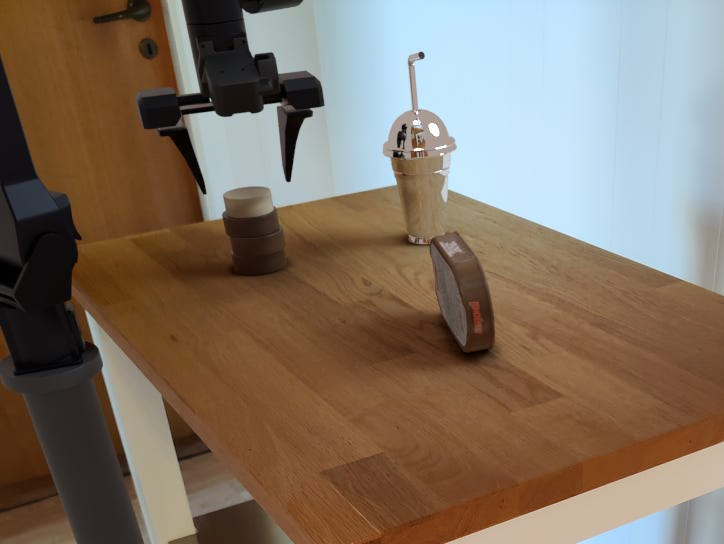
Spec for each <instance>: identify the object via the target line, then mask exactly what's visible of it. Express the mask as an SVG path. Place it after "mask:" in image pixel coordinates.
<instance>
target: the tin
mask: <svg viewBox="0 0 724 544" xmlns="http://www.w3.org/2000/svg"><path fill="white" fill-rule="evenodd" d="M429 254H430V258H431V262H432V268H433V269H432V270H433V274H434V290H435V295H436V299H437V304H438V307H439V310H440V313H441V315H442V319H443V321H444V322H445V324H446V326H447V328H448V329H449V331H450V333H451V335H452V336H453V338H454V340H455V341H456V343H457V344H458V346H459V347H460V349H461V351H462V352H464V353H466V354H470V353H475V352H481V351H485V350H493V349H494V347H495V343H496V323H495V322H496V321H495V315H494V314H495V313H494V308H493V301H492V296H491V292H490V287H489V281H488V278H487V275H486V272H485V270H484V266H483V264H482V262H481V260H480V258H479V256H478V254H477V253H476V252H475V251H474V250H473V248H472V247H471V246H470V244H469V243H468V241H466V239H465V238H464V237H463V236H462V234H461V233H460V231H458V230H454V231H453V232H450V233H449V232H448V233H445V234H444V235H439V236H435V237H433V238H432V239H431V241H430V244H429Z"/></svg>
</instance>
